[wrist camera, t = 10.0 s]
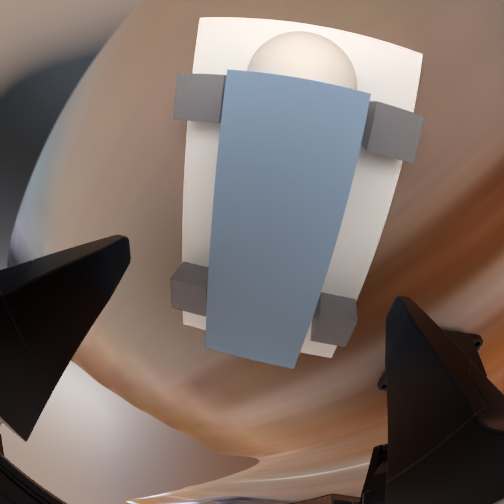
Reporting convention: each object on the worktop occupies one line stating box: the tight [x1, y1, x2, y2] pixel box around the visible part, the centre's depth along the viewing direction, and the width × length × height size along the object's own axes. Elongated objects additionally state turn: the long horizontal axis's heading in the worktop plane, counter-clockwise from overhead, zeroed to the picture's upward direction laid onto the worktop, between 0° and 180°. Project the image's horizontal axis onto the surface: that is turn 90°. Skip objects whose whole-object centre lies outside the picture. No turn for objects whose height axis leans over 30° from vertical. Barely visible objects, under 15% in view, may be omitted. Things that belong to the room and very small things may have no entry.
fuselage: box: [205, 31, 371, 369], centre depth 12 cm, size 14×4×4 cm, turn 172°
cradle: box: [171, 17, 424, 358], centre depth 14 cm, size 18×10×3 cm, turn 173°
